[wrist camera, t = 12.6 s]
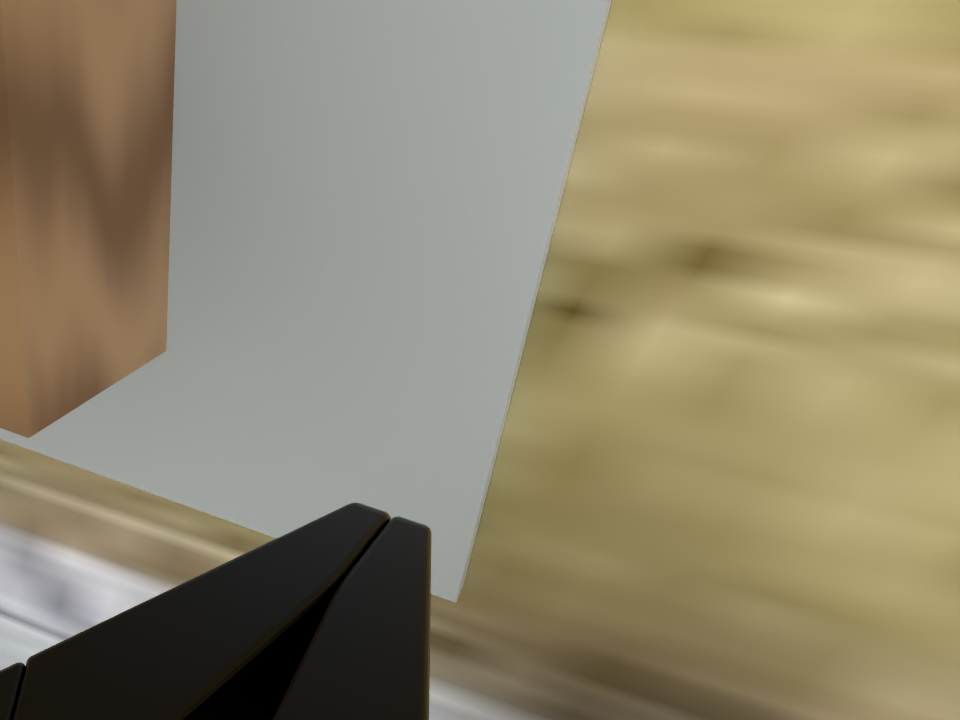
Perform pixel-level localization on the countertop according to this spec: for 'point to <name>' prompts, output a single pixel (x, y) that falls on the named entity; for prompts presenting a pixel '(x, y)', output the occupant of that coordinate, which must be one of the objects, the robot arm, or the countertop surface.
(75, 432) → the board
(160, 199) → the frame
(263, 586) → the robot arm
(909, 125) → the countertop surface
